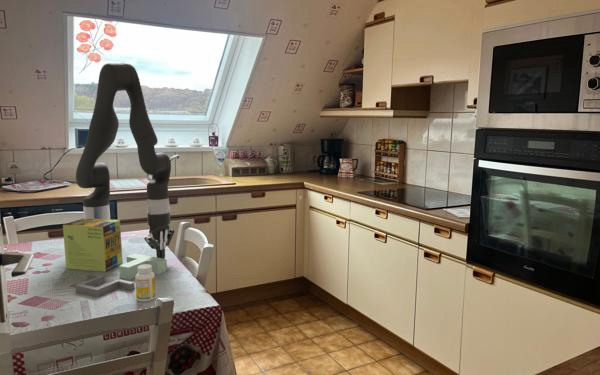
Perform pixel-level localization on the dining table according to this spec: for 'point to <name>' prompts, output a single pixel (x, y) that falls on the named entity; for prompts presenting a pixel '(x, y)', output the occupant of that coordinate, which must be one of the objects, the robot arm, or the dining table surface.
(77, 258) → the protein box
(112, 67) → the robot arm
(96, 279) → the t dock
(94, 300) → the dining table surface
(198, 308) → the dining table surface
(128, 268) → the t block
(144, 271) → the supplement bottle
